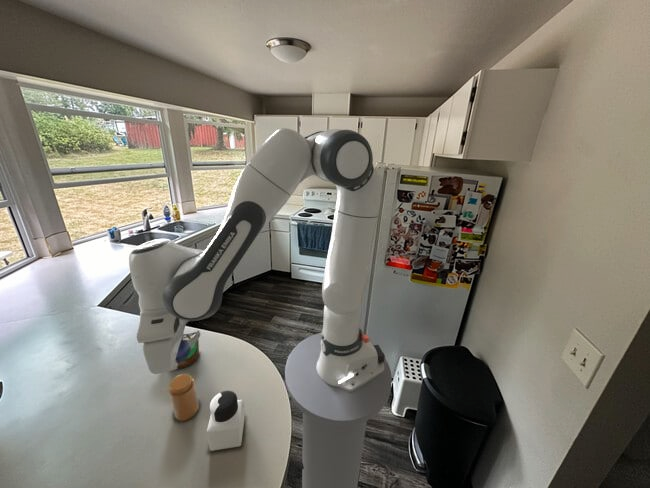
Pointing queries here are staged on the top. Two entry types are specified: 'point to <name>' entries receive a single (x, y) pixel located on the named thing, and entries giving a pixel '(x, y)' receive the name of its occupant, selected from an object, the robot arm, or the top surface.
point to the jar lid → (183, 351)
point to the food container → (191, 349)
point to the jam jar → (183, 397)
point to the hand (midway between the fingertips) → (177, 356)
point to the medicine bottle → (225, 421)
